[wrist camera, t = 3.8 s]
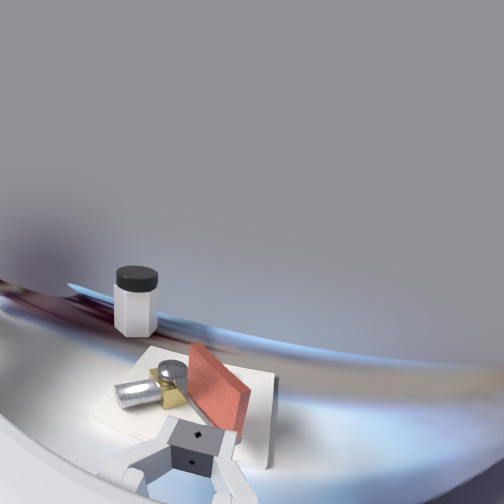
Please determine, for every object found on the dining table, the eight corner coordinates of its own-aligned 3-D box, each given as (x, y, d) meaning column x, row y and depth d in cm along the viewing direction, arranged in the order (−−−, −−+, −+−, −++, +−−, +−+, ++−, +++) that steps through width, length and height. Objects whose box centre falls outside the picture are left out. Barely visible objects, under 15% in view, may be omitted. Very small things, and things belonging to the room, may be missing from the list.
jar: (165, 332, 54) (168, 276, 52) (132, 343, 48) (132, 282, 45) (139, 315, 59) (141, 263, 57) (108, 323, 52) (108, 267, 50)
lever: (153, 369, 35) (153, 317, 33) (179, 364, 38) (182, 313, 36) (218, 453, 23) (227, 398, 21) (249, 439, 26) (263, 385, 24)
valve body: (125, 419, 29) (122, 400, 28) (113, 394, 32) (111, 375, 32) (228, 391, 39) (231, 373, 38) (210, 373, 43) (212, 356, 42)
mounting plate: (93, 419, 27) (92, 414, 27) (150, 350, 47) (150, 345, 47) (265, 469, 26) (267, 465, 26) (273, 378, 46) (274, 373, 45)
